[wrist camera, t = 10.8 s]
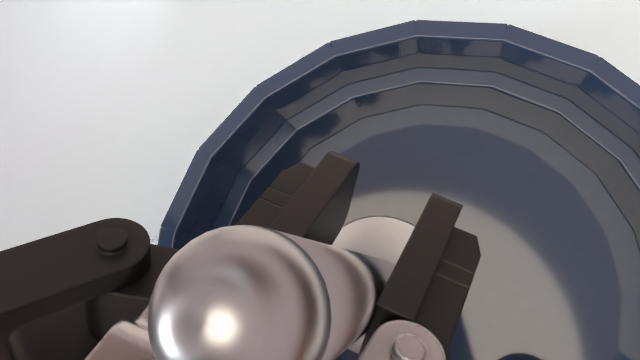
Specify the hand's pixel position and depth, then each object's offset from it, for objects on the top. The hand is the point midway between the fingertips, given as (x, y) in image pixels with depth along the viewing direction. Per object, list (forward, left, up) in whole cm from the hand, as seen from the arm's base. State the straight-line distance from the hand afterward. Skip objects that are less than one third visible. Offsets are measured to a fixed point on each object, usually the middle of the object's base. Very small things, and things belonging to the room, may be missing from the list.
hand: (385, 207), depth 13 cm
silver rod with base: (+2, -1, -9) cm, 10 cm away
